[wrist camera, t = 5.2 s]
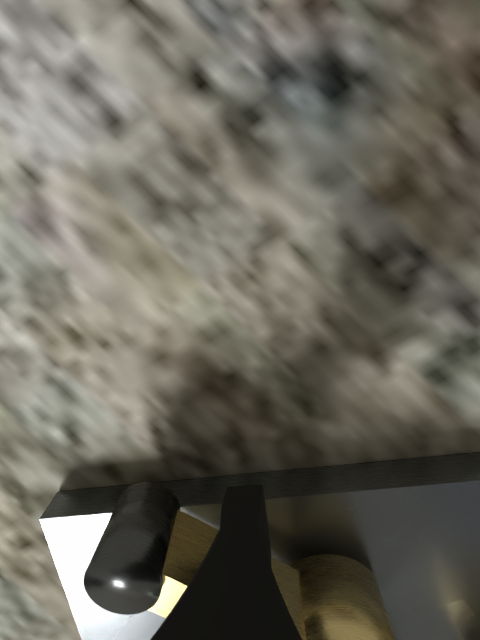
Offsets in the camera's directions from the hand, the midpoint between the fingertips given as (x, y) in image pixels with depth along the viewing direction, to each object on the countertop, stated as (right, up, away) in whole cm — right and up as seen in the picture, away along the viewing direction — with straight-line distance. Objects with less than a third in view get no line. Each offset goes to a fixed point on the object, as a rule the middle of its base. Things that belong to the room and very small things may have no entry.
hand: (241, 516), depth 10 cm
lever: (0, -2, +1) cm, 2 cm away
